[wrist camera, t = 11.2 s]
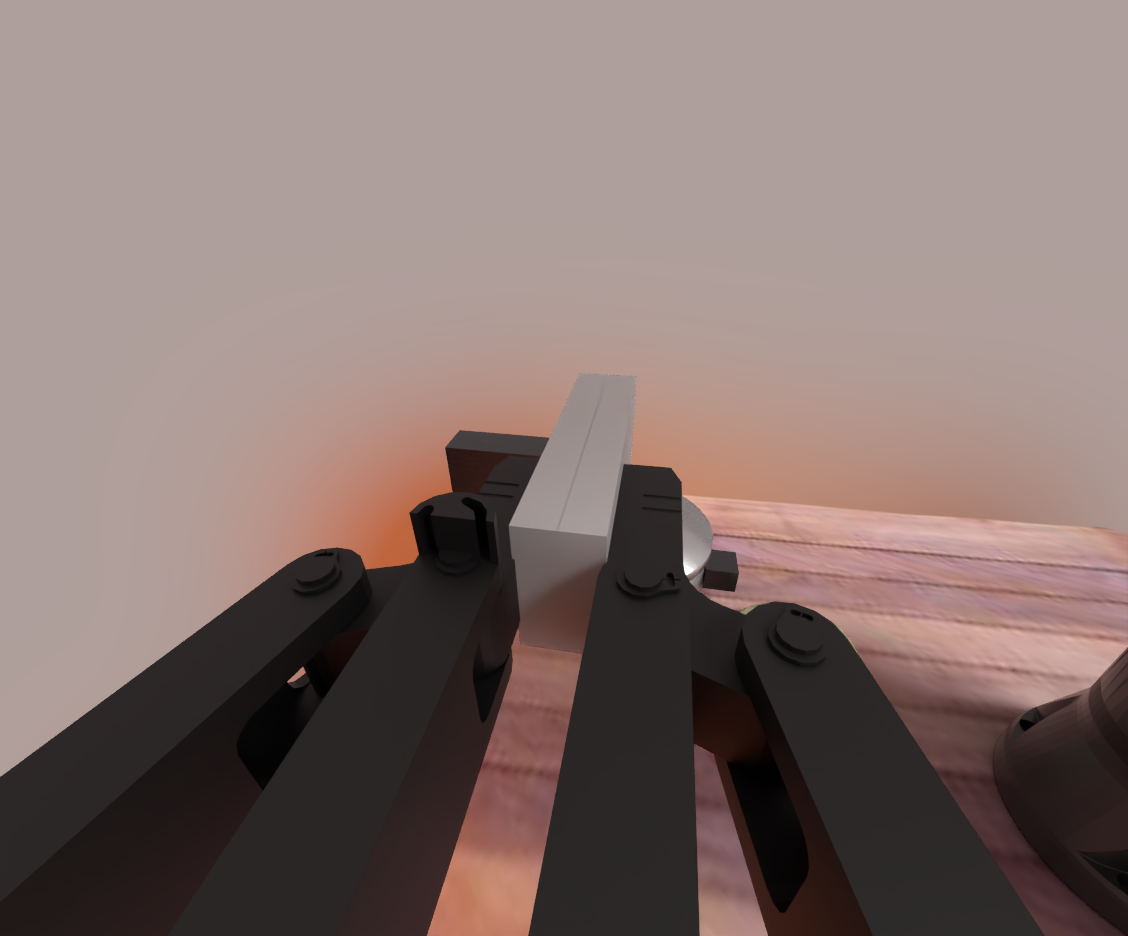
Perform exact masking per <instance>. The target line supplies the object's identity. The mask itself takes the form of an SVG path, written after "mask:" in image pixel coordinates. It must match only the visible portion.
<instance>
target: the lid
mask: <svg viewBox="0 0 1128 936" xmlns="http://www.w3.org/2000/svg"><path fill="white" fill-rule="evenodd" d="M548 440H549V438H545V437H533V436H522V435H510V434H498V433H485V432H473V431H462V430H460V431H459V432H458V433H457V434H456V435H455V437H454V438H453V439H452V440H451V441H450V442H449V444H448V445H447V446H446V448H445V449H446V455H447V460H448V467H449V473H450V479H451V485H452V490H453V492H468V493H472V494H477V495H478V494H479V491H480V489H481V488H482V486H483V484H485V482H486V479H487V478H488V476H489V474H490V473H491V471H492V469H493V468H494V467H495V466H496V465H498V464H499V463H501V462H502V461H503V460H505V459H506V458H508V457H509V456H517V457H528V458H540V457H541V455H542V453H543V451H544V449H545V447H546V445H547V442H548ZM682 528H683V565H684V570H685V574H686V576H687V577H688V579H689V581H691V580H693V579H694V578H695V577H697V576H698V575H699V574H700V573H701V572H702V570H703V569H704V568H705V566H706V565H707V563H708V561H709V558H710V554H711V549H712V544H713V533H712V528H711V526H710V523H709V521H708V519H707V518H706V516H705V515H704V514H703V513H702V511H701V510H700V509H699V508H698V507H697V506H696V505H694V504H693V503H692V502H690V501H689V500H688V499H686V498H684V497H682Z"/></svg>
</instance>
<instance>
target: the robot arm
mask: <svg viewBox="0 0 1128 936" xmlns="http://www.w3.org/2000/svg"><path fill="white" fill-rule="evenodd" d="M635 389H636V376H620V375H600V374H582V373H580V374H579V376H578V378H577V380H576V383H575V385H574V387H573V389H572V391H571V393H570V395H569V398H568V399H567V402H566V404H565V406H564V408H563V410H562V412H561V415H560V417H559V419H558V421H557V423H556V425H555V427H554V430H553V432H552V434H551V436H550V438H549V440H548V442H547V445H546V447H545V449H544V451H543V453H542V455H541V457H540V458H528V457H517V456H509V457H508V458H506V459H505V460H503V461H502V462H501V463H499V464H498V465H496V466H495V467H494V468H493V469H492V471H491V473H490V474H489V476H488V478H487V479H486V482H485V484H483V486H482V488H481V489H480V491H479V494H478V495H477V494H472V493H468V492H452V493H447V494H443V495H438V496H434V497H432V498H430V499H428V500H426V501H424V502H422V503H420V504H419V505H418V506H416V508H414V509H413V510H412V511H411V512H410V517H411V521H412V526H413V530H414V534H415V539H416V543H417V547H418V552H419V555H418V557H417V558H416V560H415V561H414V563H411V564H406V565H401V566H393V567H384V568H376V569H367V570H365V567H364V564H363V561H362V559H361V556H360V555H358V554H357V553H355V552H354V551H352V550H349V549H343V548H330V549H320V550H317V551H315V552H312V553H309V554H306V555H303V556H301V557H299V558H298V559H296V560H294V561H293V562H291V563H289V564H287V565H286V566H285V567H283V568H282V569H281V570H279V571H278V572H277V573H275V574H274V575H273V576H271V577H270V578H269V579H267V580H266V581H265V582H263V583H262V584H260V585H259V586H258V587H256V588H255V589H254V590H252V591H251V592H250V593H249V594H247V595H246V596H244V597H243V598H242V599H240V600H239V601H238V602H236V603H235V604H233V605H232V606H231V607H229V608H228V609H227V610H225V611H224V612H223V613H221V614H220V615H219V616H217V617H216V618H214V619H213V620H212V621H211V622H209V623H208V624H206V625H205V626H204V627H202V628H201V629H200V630H198V631H197V632H196V633H194V634H193V635H192V636H190V637H189V638H187V639H186V640H185V641H183V642H182V643H181V644H179V645H178V646H177V647H175V648H174V649H173V650H171V651H170V652H169V653H167V654H166V655H165V656H163V657H162V658H160V659H159V660H158V661H156V662H155V663H154V664H152V665H151V666H150V667H148V668H147V669H146V670H144V671H143V672H142V673H140V674H139V675H137V676H136V677H135V678H133V679H132V680H131V681H129V682H128V683H127V684H125V685H124V686H123V687H121V688H120V689H119V690H117V691H116V692H115V693H114V694H112V695H110V696H109V697H108V698H106V699H105V700H104V701H102V702H101V703H100V704H98V705H97V706H96V707H94V708H93V709H92V710H90V711H89V712H88V713H86V714H85V715H83V716H82V717H81V718H79V719H78V720H77V721H75V722H74V723H73V724H71V725H70V726H69V727H67V728H66V729H65V730H63V731H62V732H61V733H59V734H58V735H57V736H55V737H54V738H53V739H51V740H50V741H48V742H47V743H46V744H44V745H43V746H42V747H40V748H39V749H38V750H36V751H35V752H33V753H32V754H31V755H30V756H28V757H27V758H25V759H24V760H23V761H21V762H20V763H19V764H17V765H16V766H15V767H13V768H12V769H11V770H9V771H8V772H6V773H5V774H4V775H3V776H1V777H0V936H427V933H428V930H429V927H430V924H431V921H432V918H433V915H434V911H435V908H436V905H437V902H438V899H439V896H440V893H441V890H442V887H443V883H444V880H445V877H446V874H447V871H448V868H449V865H450V862H451V859H452V855H453V852H454V849H455V846H456V843H457V840H458V837H459V834H460V830H461V827H462V824H463V821H464V818H465V815H466V812H467V809H468V806H469V802H470V799H471V796H472V793H473V790H474V787H475V784H476V781H477V778H478V774H479V771H480V768H481V765H482V762H483V759H484V756H485V753H486V750H487V746H488V743H489V740H490V737H491V734H492V731H493V728H494V725H495V722H496V718H497V715H498V712H499V709H500V706H501V703H502V700H503V697H504V694H505V690H506V687H507V684H508V681H509V678H510V675H511V671H512V661H513V659H512V650H511V646H512V643H513V640H514V638H515V635H516V632H517V629H518V626H519V636H520V644H523V645H529V646H536V647H542V648H549V649H555V650H562V651H568V652H574V653H581V654H583V655H582V660H581V665H580V670H579V676H578V681H577V686H576V691H575V696H574V702H573V707H572V712H571V717H570V722H569V728H568V733H567V738H566V743H565V748H564V754H563V759H562V764H561V769H560V774H559V780H558V785H557V790H556V795H555V800H554V805H553V811H552V816H551V821H550V826H549V831H548V837H547V842H546V847H545V852H544V857H543V863H542V868H541V873H540V878H539V883H538V889H537V894H536V899H535V904H534V909H533V914H532V920H531V925H530V930H529V935H528V936H700V935H699V903H698V871H697V838H696V806H695V774H694V744H696V745H698V746H700V747H702V748H704V749H706V750H708V751H709V752H711V753H713V754H714V757H715V761H716V764H717V767H718V771H719V774H720V777H721V780H722V784H723V787H724V790H725V794H726V797H727V800H728V804H729V807H730V810H731V814H732V817H733V820H734V824H735V827H736V830H737V834H738V837H739V840H740V844H741V847H742V850H743V854H744V857H745V860H746V864H747V867H748V870H749V874H750V877H751V880H752V884H753V887H754V890H755V894H756V897H757V900H758V904H759V907H760V910H761V913H762V917H763V920H764V923H765V927H766V930H767V933H768V936H1044V934H1043V933H1042V931H1041V930H1040V928H1039V927H1038V925H1037V924H1036V922H1035V921H1034V919H1033V918H1032V916H1031V915H1030V913H1029V912H1028V910H1027V909H1026V907H1025V906H1024V904H1023V902H1022V901H1021V899H1020V898H1019V896H1018V895H1017V893H1016V892H1015V890H1014V889H1013V887H1012V886H1011V884H1010V883H1009V881H1008V880H1007V878H1006V877H1005V875H1004V874H1003V872H1002V871H1001V869H1000V868H999V866H998V865H997V863H996V862H995V860H994V859H993V857H992V856H991V854H990V853H989V851H988V850H987V848H986V847H985V845H984V844H983V842H982V841H981V839H980V838H979V836H978V835H977V833H976V832H975V830H974V829H973V827H972V826H971V824H970V823H969V821H968V820H967V818H966V817H965V815H964V814H963V812H962V810H961V809H960V807H959V806H958V804H957V803H956V801H955V800H954V798H953V797H952V795H951V794H950V792H949V791H948V789H947V788H946V786H945V785H944V783H943V782H942V780H941V779H940V777H939V776H938V774H937V773H936V771H935V770H934V768H933V767H932V765H931V764H930V762H929V761H928V759H927V758H926V756H925V755H924V753H923V752H922V750H921V749H920V747H919V746H918V744H917V743H916V741H915V740H914V738H913V737H912V735H911V734H910V732H909V731H908V729H907V728H906V726H905V725H904V723H903V722H902V720H901V718H900V717H899V715H898V714H897V712H896V711H895V709H894V708H893V706H892V705H891V703H890V702H889V700H888V699H887V697H886V696H885V694H884V693H883V691H882V690H881V688H880V687H879V685H878V684H877V682H876V681H875V679H874V678H873V676H872V675H871V673H870V672H869V670H868V669H867V667H866V666H865V664H864V663H863V661H862V660H861V658H860V657H859V655H858V654H857V652H856V651H855V649H854V648H853V646H852V645H851V643H850V642H849V640H848V639H847V637H846V636H845V635H844V634H843V633H842V632H841V631H840V630H839V629H838V628H837V626H836V625H835V624H834V623H833V622H831V621H829V620H828V619H826V618H825V617H823V616H822V615H820V614H819V613H817V612H816V611H814V610H811V609H808V608H805V607H803V606H800V605H797V604H794V603H784V602H770V603H766V604H761V605H758V606H756V607H755V608H754V609H752V610H751V611H750V612H748V613H747V614H746V615H745V614H743V613H740V612H738V611H735V610H732V609H730V608H727V607H725V606H722V605H720V604H718V603H716V602H714V601H712V600H710V599H708V598H707V597H706V596H704V595H703V594H701V593H700V592H699V591H698V590H697V589H696V588H695V587H694V586H693V585H692V584H691V583H690V581H689V579H688V577H687V576H686V574H685V570H684V565H683V528H682V488H681V487H682V486H681V481H680V480H679V478H678V477H677V476H676V474H675V473H674V471H673V470H672V469H671V468H665V467H654V466H642V465H631V451H632V434H633V420H634V405H635ZM302 667H304V669H305V671H306V673H305V674H304V675H303V676H301V677H300V678H299V679H297V680H296V681H294V682H290V683H288V682H287V681H288V680H289V679H290V678H291V677H292V676H294V675H295V674H296V673H297V672H298V671H299V670H300V668H302ZM993 768H994V774H995V778H996V782H997V785H998V788H999V791H1000V793H1001V796H1002V798H1003V800H1004V802H1005V804H1006V807H1007V808H1008V810H1009V812H1010V814H1011V816H1012V817H1013V819H1014V821H1015V822H1016V824H1017V825H1018V827H1019V828H1020V830H1021V831H1022V833H1023V834H1024V836H1025V837H1026V838H1027V840H1028V841H1029V842H1030V844H1031V845H1032V846H1033V848H1034V849H1035V850H1036V851H1037V853H1038V854H1039V855H1040V856H1041V857H1042V859H1043V860H1044V861H1045V862H1046V863H1047V864H1048V865H1049V867H1050V868H1051V869H1052V870H1053V871H1054V872H1055V873H1056V874H1057V875H1058V876H1059V877H1060V878H1061V879H1062V880H1063V881H1064V882H1065V883H1066V884H1067V885H1068V886H1069V887H1070V888H1071V889H1072V890H1073V891H1074V892H1075V893H1076V894H1077V895H1078V896H1080V897H1081V898H1082V899H1083V900H1084V901H1085V902H1086V903H1087V904H1089V905H1090V906H1091V907H1092V908H1093V909H1094V910H1096V911H1097V912H1098V913H1099V914H1100V915H1102V916H1103V917H1104V918H1105V919H1107V920H1108V921H1109V922H1110V923H1112V924H1113V925H1114V926H1116V927H1117V928H1118V929H1120V930H1121V931H1122V932H1124V933H1125V934H1127V935H1128V648H1127V649H1126V650H1125V651H1124V652H1123V653H1122V654H1121V655H1120V656H1119V657H1118V658H1117V659H1116V660H1115V661H1114V663H1113V664H1112V665H1111V666H1110V667H1109V668H1108V669H1107V670H1106V671H1105V672H1104V673H1103V675H1102V676H1101V677H1100V678H1099V679H1098V680H1097V681H1096V682H1095V683H1094V684H1093V685H1092V686H1091V687H1090V688H1088V689H1085V690H1082V691H1079V692H1077V693H1074V694H1071V695H1068V696H1065V697H1063V698H1060V699H1057V700H1054V701H1052V702H1049V703H1046V704H1043V705H1041V706H1038V707H1035V708H1033V709H1030V710H1028V711H1026V712H1024V713H1022V714H1021V715H1020V716H1018V717H1017V718H1016V719H1015V720H1014V721H1013V722H1012V723H1011V724H1010V725H1009V726H1008V728H1007V729H1006V730H1005V731H1004V733H1003V734H1002V735H1001V736H1000V738H999V739H998V741H997V743H996V746H995V749H994V754H993Z"/></svg>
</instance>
